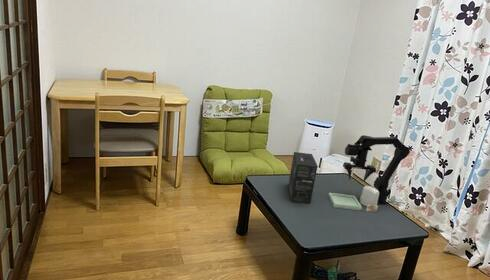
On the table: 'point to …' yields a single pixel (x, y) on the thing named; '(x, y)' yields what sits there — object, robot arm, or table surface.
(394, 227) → the table surface
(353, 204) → the tray
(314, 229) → the table surface
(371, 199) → the photo printer
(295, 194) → the headset box
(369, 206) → the holder
